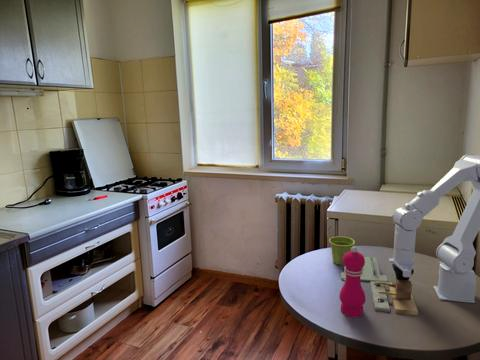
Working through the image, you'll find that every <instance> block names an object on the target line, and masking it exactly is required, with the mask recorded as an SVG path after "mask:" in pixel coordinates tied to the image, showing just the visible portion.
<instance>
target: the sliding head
mask: <svg viewBox="0 0 480 360" xmlns="http://www.w3.org/2000/svg"><path fill="white" fill-rule="evenodd" d="M395 283H396V287H395V292H389V291H386V290H385V291H378V293H379V294H386V295H389V296H390V295H395V296H396V298H398V299H407V300H411V294H412V290H413V289H412V288H413V284H412V281H411V280H409V281H408V280H397V279H396V278H395Z"/></svg>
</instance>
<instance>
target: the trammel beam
mask: <svg viewBox="0 0 480 360" xmlns="http://www.w3.org/2000/svg"><path fill="white" fill-rule="evenodd" d="M375 282H376V284H382V285H384V286H387V288H388V292H395V287H396V281H395V282H388V281H387V282H377V281H375ZM389 296H390V298H391V302H392V306H393V309H394V310H393V311H394V312H395V313H396V314H404V315H411V316H412V315H414V316H419V310H418V307H417V304H416V302H415V299H414V297H413V294H412V293H411V300H407V299H398V298H396V296H395V295H389Z"/></svg>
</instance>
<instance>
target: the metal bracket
mask: <svg viewBox="0 0 480 360" xmlns="http://www.w3.org/2000/svg"><path fill="white" fill-rule="evenodd" d="M364 259H365V265H364V266H363V267H362V269H363V271H362V272H363V274H362V275H361V277H360V281H365V282H366V281H367V282H370V281H373V282H376V281H377V282H387V283H388V277H387V275H385V274H383V275H382V274H380V269H379V266H378V260H377V257H376V256H374V257H373V255H370V256H364ZM340 278H341V280H344V282H345V281H346V274H345V272H340Z"/></svg>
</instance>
